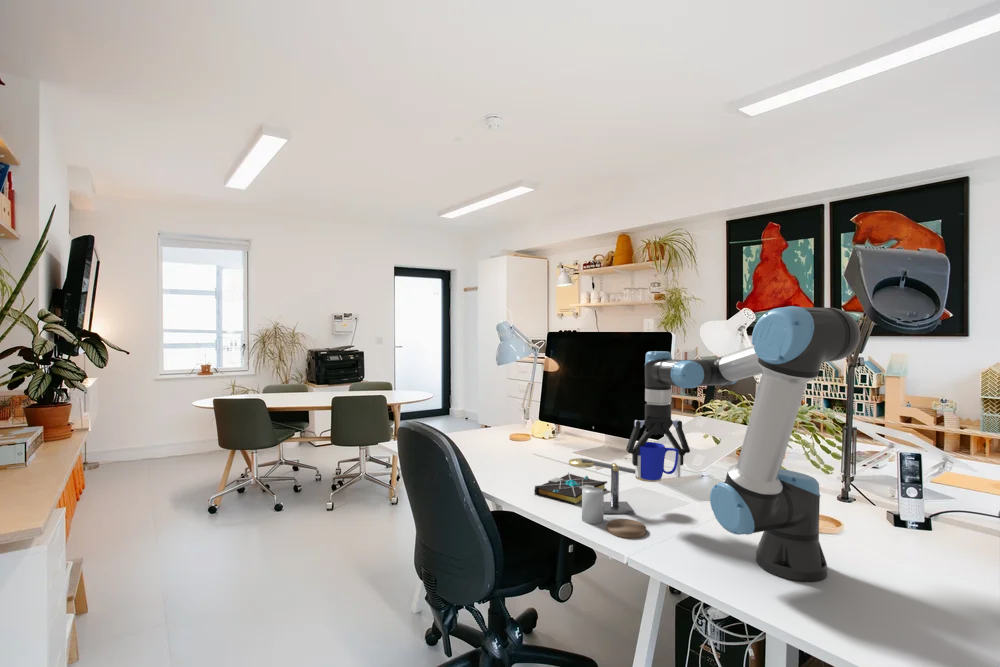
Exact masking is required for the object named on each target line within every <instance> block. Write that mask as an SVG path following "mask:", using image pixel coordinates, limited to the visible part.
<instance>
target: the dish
mask: <svg viewBox="0 0 1000 667" xmlns="http://www.w3.org/2000/svg"><path fill="white" fill-rule="evenodd" d="M606 531H607V532H608V533H609V534H610V535H612V536H614V537H618V538H624V539H638V538H643V537H644V536H646V535H647V526H646V525H645V524H644V523H643V522H640V521H636V520H634V519H629V518H628V519H627V518H625V519H624V518H615V519H612V520H609V521H608V522H606Z"/></svg>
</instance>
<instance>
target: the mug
mask: <svg viewBox="0 0 1000 667" xmlns="http://www.w3.org/2000/svg"><path fill="white" fill-rule="evenodd" d="M668 451H669V452H670V451H671V452H675V453H676V457H675V456H674V464H673V468H672V469H671V470H669V471H666V470H665V458H666V453H667V452H668ZM638 455H640V456H641V478H642V479H645V480H659V479H661V480H662V479H663V478H662V477H663V473H664V474H667V475H672V474H673V473H674V471H675V470H676V467H677V462H678V449H675V448H674V447H673V448H672V447H666V445H665V444H662V443H660V442H652V441H647V442H646V443H645V445H644V446H643V447H641V446H640V452H639V454H638Z"/></svg>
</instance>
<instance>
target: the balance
mask: <svg viewBox="0 0 1000 667" xmlns="http://www.w3.org/2000/svg"><path fill="white" fill-rule="evenodd" d="M568 465H569V466H571V467H574V468H579V469H580V468H583V469H584V468H591V467H594V466H595V467H600V468H603V469H604V468H605V469H610V501H604V515H608V514H609V513H610V515H612V514H611V513H613V515H615V514H614V513H634V514H635V510H634V509H633V507H632V506H631V505H630V504H629V503H628V501H619V500H620V498H619V496H620V495H619V494H620V493H619V492H620V491H619V489H620V486H619V484H620V483H619V482H620V476H619V475H620V474H619V473H620V472H624V473H629V474H633V475H635V468H631V467H625V466H620V465H618V464H617V463H616V462H612V463H606V462H602V461H596V460H593V459H589V458H580V457H579V458H571V459H569V460H568ZM634 478H635V479H636V480H638V481H642V482H648V483H657V482H660V481H662V478H661V479H659V480H645V479H642V478H638V477H637V476H636V475H635V477H634Z"/></svg>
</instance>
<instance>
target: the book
mask: <svg viewBox="0 0 1000 667" xmlns="http://www.w3.org/2000/svg"><path fill="white" fill-rule="evenodd" d="M606 484H608V481H607V480H604V481H602V480H597V479H596V480H595V479H592V478H589V477H588V475H586V476H584V477H583V476H579V475H576V474H572V473H570V472H569V471H568V472H567V474H565V475H563V476H561V477H553V478H551V479H549V480H548V482H545V483H543V484H540V485H534V493H533V494H534V496H541V497H544V498H545V497H546V498H550V499H554V500H556V501H561V502H564V503H567V504H570V505H574V506H577V505H579V504H580V503H582V489H583V488H586V487H596V488H600V489H602V490H603V491H604V492H605V491H607V488H606V487H605V485H606Z"/></svg>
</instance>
